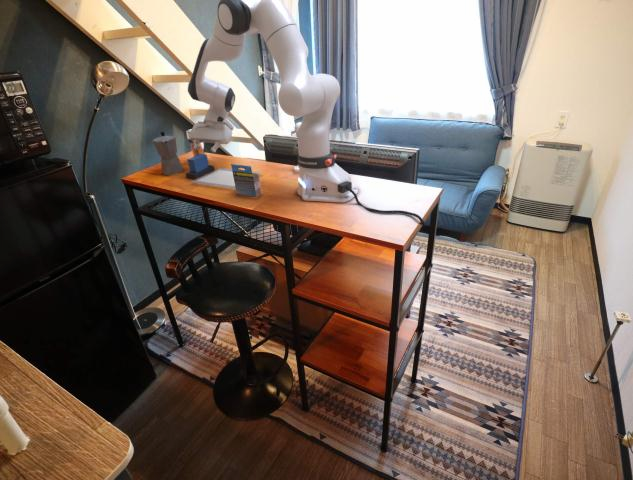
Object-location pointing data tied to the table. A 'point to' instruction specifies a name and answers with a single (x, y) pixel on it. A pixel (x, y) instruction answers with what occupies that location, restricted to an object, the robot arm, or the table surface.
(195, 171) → the eraser
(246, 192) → the tape cartridge
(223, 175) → the whiteboard
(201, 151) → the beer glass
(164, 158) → the coffeepot
